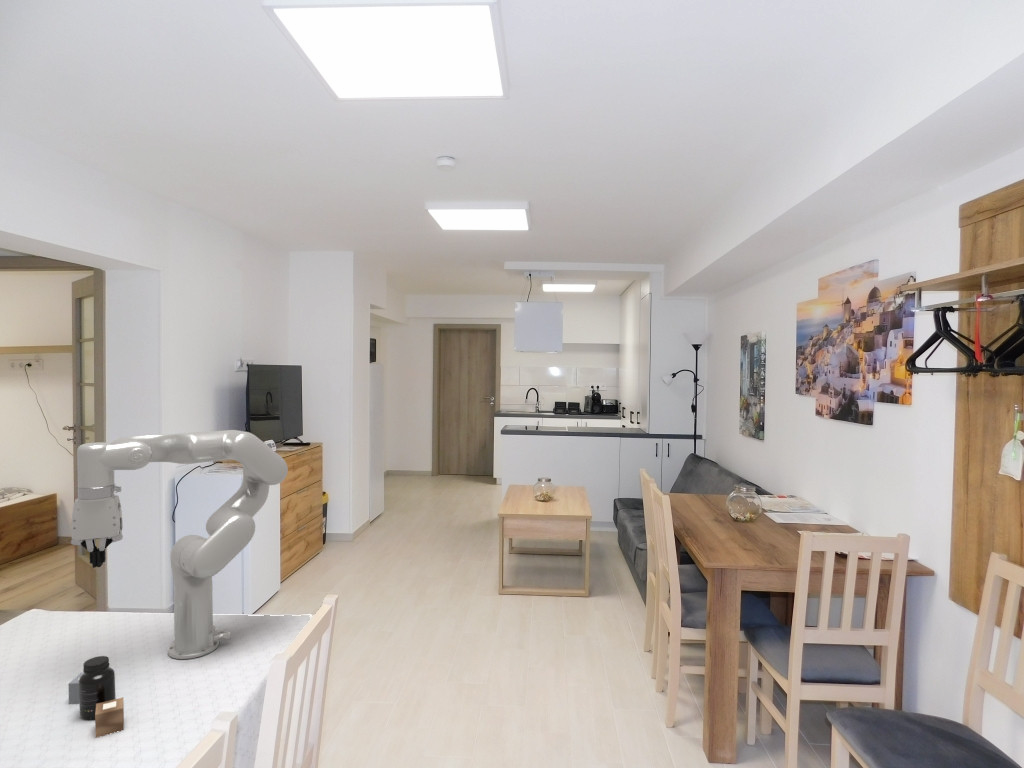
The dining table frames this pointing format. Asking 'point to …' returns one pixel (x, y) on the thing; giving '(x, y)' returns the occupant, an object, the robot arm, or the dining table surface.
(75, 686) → the slate grey block
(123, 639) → the dining table surface
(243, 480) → the robot arm
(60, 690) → the dining table surface
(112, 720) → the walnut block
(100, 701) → the supplement bottle
